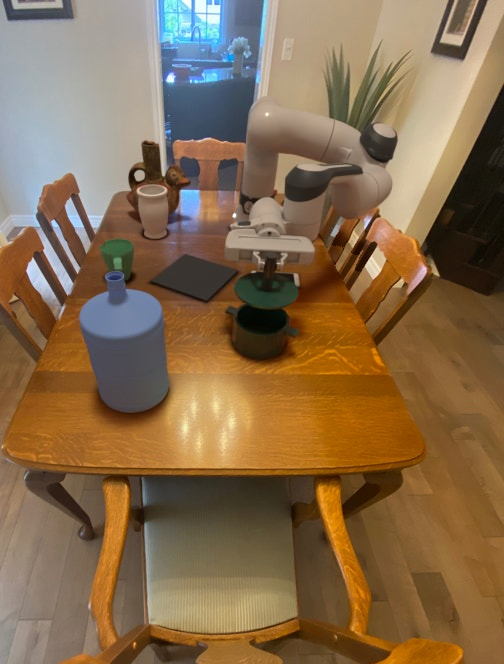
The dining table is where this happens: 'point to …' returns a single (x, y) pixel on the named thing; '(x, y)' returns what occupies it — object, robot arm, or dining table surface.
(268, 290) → the lid
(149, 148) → the ceramic vessel
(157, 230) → the jar
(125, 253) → the mug
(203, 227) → the dining table surface
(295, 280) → the smartphone
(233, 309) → the pot
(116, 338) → the water jug
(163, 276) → the mat
